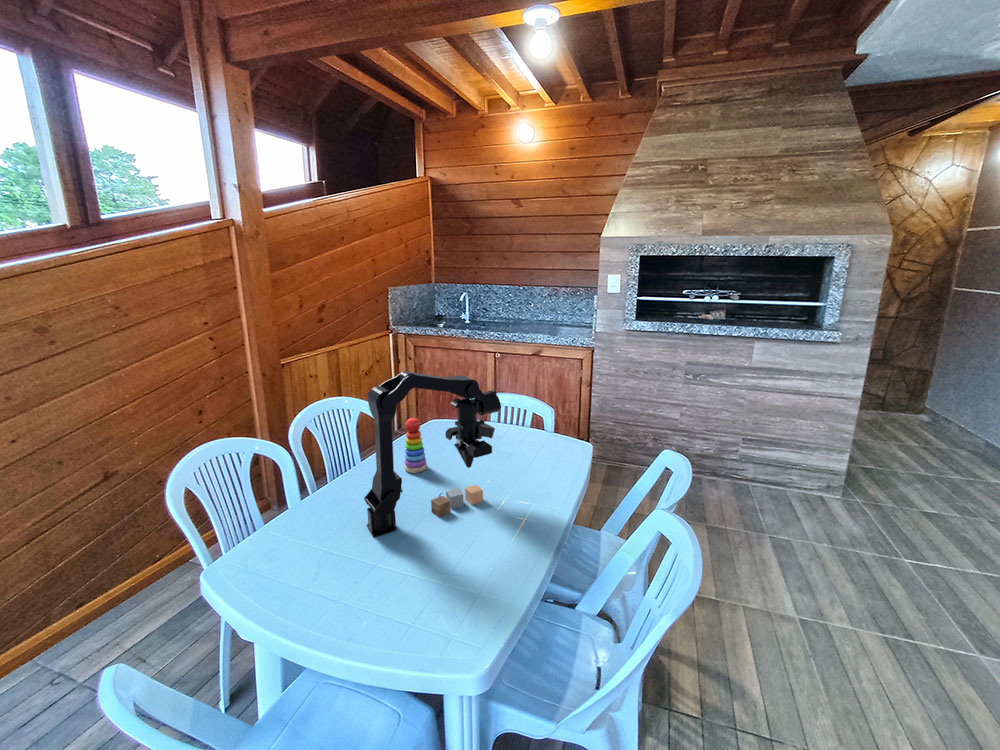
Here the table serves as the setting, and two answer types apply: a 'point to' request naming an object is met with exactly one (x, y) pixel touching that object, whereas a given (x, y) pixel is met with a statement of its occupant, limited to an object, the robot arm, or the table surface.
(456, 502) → the slate block
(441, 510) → the walnut cube
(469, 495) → the terracotta block
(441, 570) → the table surface
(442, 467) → the table surface
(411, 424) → the stacking toy
